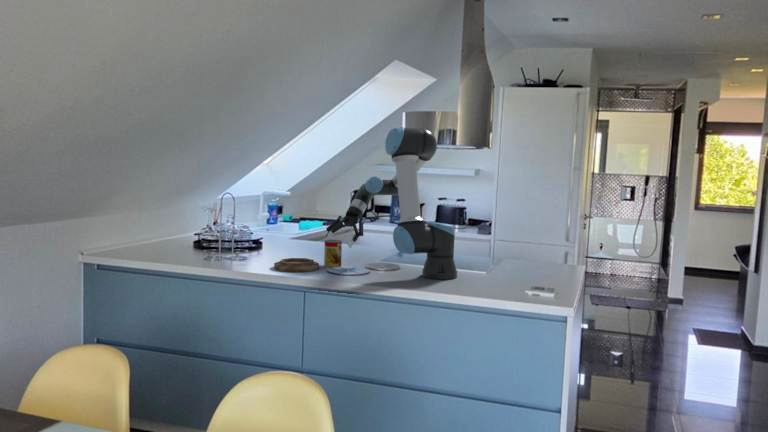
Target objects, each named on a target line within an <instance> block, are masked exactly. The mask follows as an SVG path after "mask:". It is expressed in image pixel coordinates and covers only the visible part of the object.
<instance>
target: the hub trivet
mask: <svg viewBox="0 0 768 432" xmlns="http://www.w3.org/2000/svg"><path fill="white" fill-rule="evenodd" d="M273 268H274V270H276V271H278V272H284V273H285V272H286V273H308V272H314V271H317V270H319V269H320V263H319V262H317V261H314V259H310V258H306V257H304V258H303V257H290V258H282V259H280V260H279V261H276V262H274V263H273Z"/></svg>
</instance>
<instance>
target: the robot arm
mask: <svg viewBox="0 0 768 432" xmlns="http://www.w3.org/2000/svg"><path fill="white" fill-rule="evenodd" d="M437 142H438V141H437V139H436V137H435V135H434V134H433V133H432V132H431V131H430V130H429V129H425V128H417V127H416V128H414V127H413V128H412V127H403V126H401V127H393V128H391V129H390V130H389V131H388V133H387V135H386V138H385V143H384V144H385V145H384V146H385V148H384V149H385V153H386V154H387V155H389V156H391V161H392V162H393V163H395V170H396V174H395V175H394V176H393V177H392V179H382V178H381V177H378V176H376V175H374V176H370V178H368V179H367V180H366V182H365V183H362V184H361V185H360V187H359V189H358V191H357V192H356V194H355V196H354V198H353V200H352V201H351V203H350V204H349V207H348V208H347V210H346V212H345V216H342V215H339V216H338V217H337V218H336V219H335V220H334V221H333V222H332V223H330V224H329V225H328V226H327V227H326V228H325V230H326V231H327V233H326V235H325V239H324V241H323V243H324V244H325V240H332V238H333V237H334V233H336V232H338V231H339V230H341V229H343V228H345V227H346V228H347V227H349V228H353V231H354V233H352V236H351V237H350V239H349V240H348V243H347V247H349V249H351V248H352V247H353V245H354V244H355V243H356V242H357V240H358V238H359V237H364V224H365V220H364V218H363V214H364V213H365V211H366V209H367V208H368V205H369V204H370V202H371V201H372V199H373V198H375V196H398V205H399V214H400V215H399V217H400V219H399V220H398V221H397V223H396V225H397V226H396V227H394V228H393V233H392V239H393V244H394V246H395V248H396V250H397V251H398V252H399V253H400V254H403V255H406V254H407V255H413V254H416V255H417V254H426V259H425V262H424V264H423V268H422V271H421V276H422V277H424V278H428V279H434V280H452V279H453V280H454V279H456V278H458V270H457V267H456V264H455V258H454V257H455V255H454V254H455V237H456V233H455V227H454V226H453V225H452V224H447V223H443V222H437V221H436V222H434V221H428V222H427V224H426V223H425V222H426V220H424V219H423V218H422V217H421V216H422V215H421V205H420V193H419V183H418V172H419V171H420V170H421V168H422V167H423V166H424V165H425V164H426V162H429V161H430V160H432V158H433V157H434V156H435V154H436V151H437V148H438V143H437ZM357 224H358V226H357Z"/></svg>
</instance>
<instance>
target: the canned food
mask: <svg viewBox="0 0 768 432" xmlns="http://www.w3.org/2000/svg"><path fill="white" fill-rule="evenodd" d="M324 241H325V243H324V251H323V254H324V256H323V257H324V259H323V260H324V261H323V263H324V264H323V266H324V268H327V269H329V268H330V267H339V268H341V267H342V252H343V251H342V249H343V248H342V247H343V246H342V245H343V242H342V241H343V240H342V239H341V240H340V239H331V240H325V239H324ZM330 269H331V268H330Z"/></svg>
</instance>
